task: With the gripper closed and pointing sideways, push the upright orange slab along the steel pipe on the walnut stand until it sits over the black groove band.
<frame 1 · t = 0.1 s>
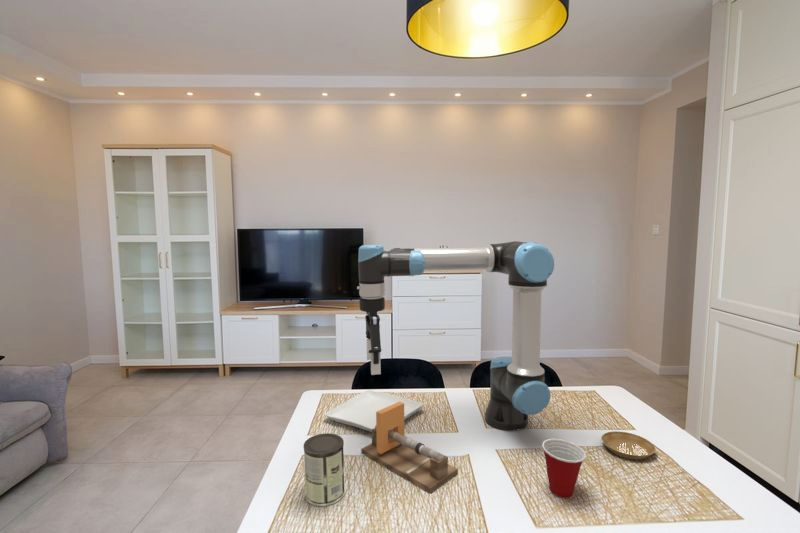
hand: (373, 366, 126), 28 cm above the table, tool pointing down, fingers open, 13 cm apart
square plate: (375, 417, 154), on the table
upright orange slab: (390, 427, 127), point 9 cm above the table, slide at 0.0 cm
plastic cup: (562, 491, 110), on the table
coffee can: (325, 494, 110), on the table
pipe stand: (407, 463, 123), on the table
plant saucer: (627, 451, 130), on the table
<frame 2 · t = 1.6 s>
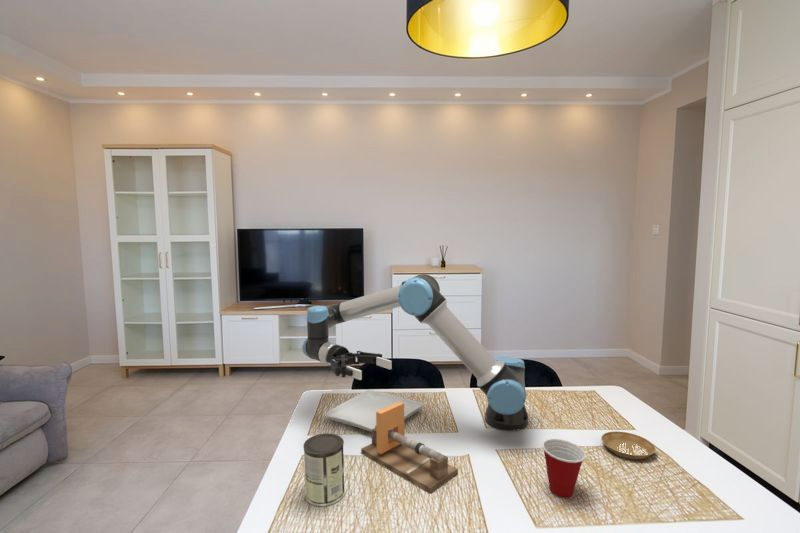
hand: (376, 370, 130), 25 cm above the table, tool horizontal, fingers open, 12 cm apart
nothing on the table moved.
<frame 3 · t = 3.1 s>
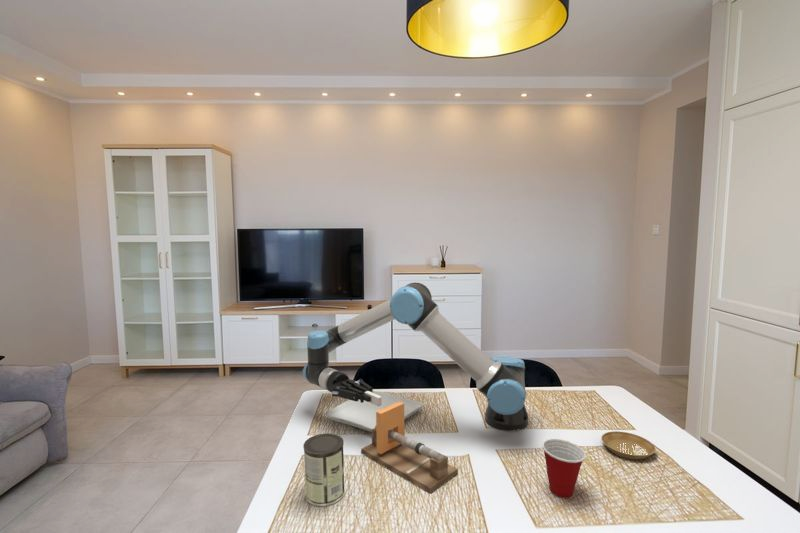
hand: (380, 401, 130), 16 cm above the table, tool horizontal, fingers closed
nothing on the table moved.
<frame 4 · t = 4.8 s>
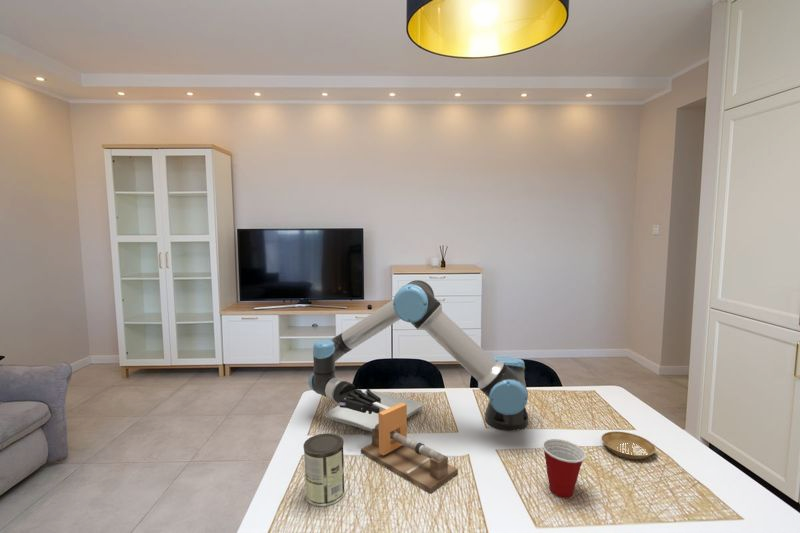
hand: (388, 412, 127), 13 cm above the table, tool horizontal, fingers closed
upright orange slab: (393, 428, 127), point 9 cm above the table, slide at 1.0 cm, touching gripper
everything else where it was.
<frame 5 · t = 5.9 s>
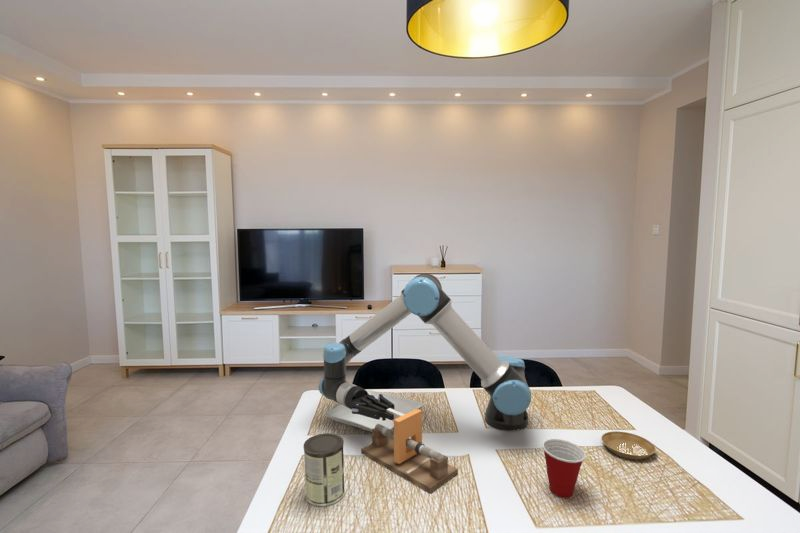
hand: (403, 419, 122), 13 cm above the table, tool horizontal, fingers closed
upright orange slab: (408, 435, 122), point 9 cm above the table, slide at 7.4 cm, touching gripper
everything else where it was.
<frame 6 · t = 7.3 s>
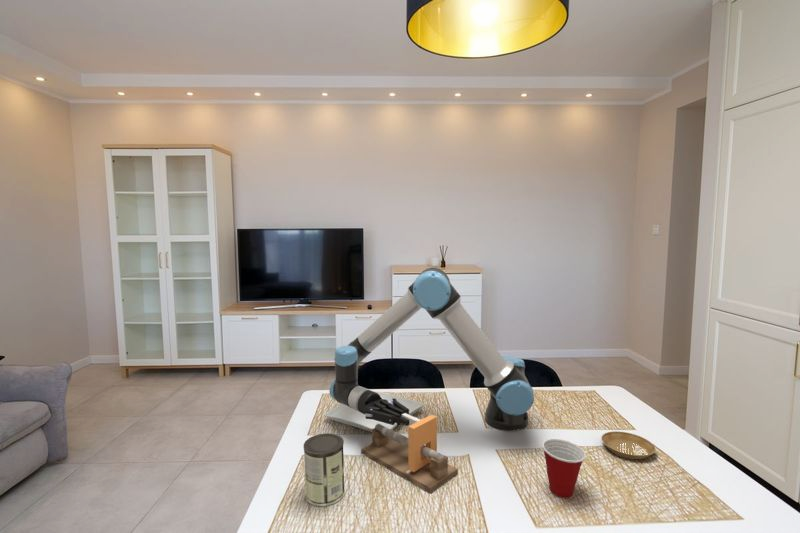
hand: (419, 425, 118), 13 cm above the table, tool horizontal, fingers closed
upright orange slab: (423, 442, 118), point 9 cm above the table, slide at 13.2 cm, touching gripper
everything else where it was.
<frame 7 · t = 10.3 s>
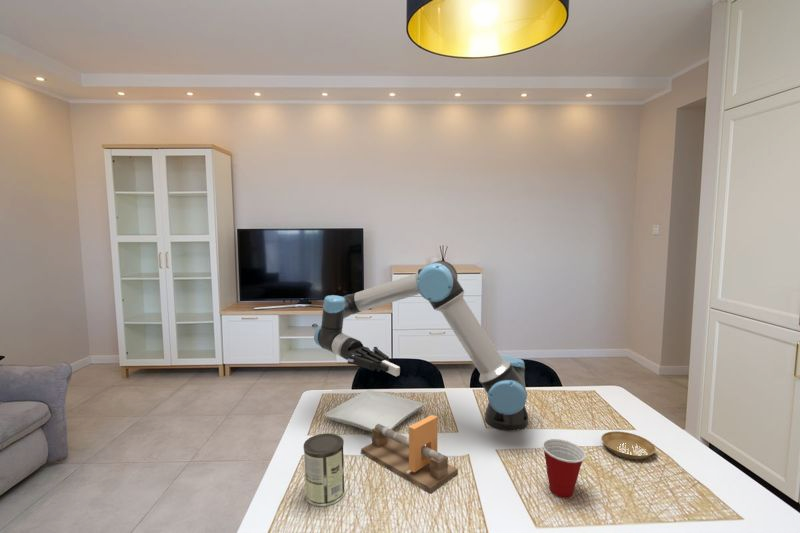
hand: (397, 371, 127), 26 cm above the table, tool horizontal, fingers closed
upright orange slab: (423, 442, 118), point 9 cm above the table, slide at 13.3 cm
everything else where it was.
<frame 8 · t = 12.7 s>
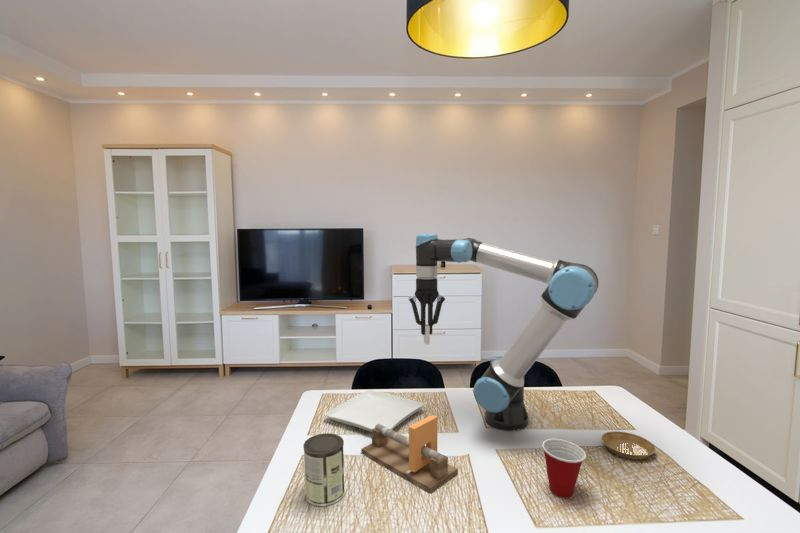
hand: (426, 343, 148), 28 cm above the table, tool pointing down, fingers closed
nothing on the table moved.
at the end: upright orange slab slide at 13.3 cm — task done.
